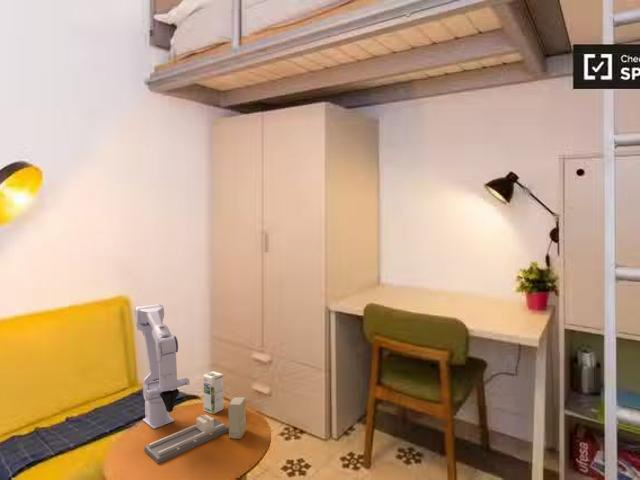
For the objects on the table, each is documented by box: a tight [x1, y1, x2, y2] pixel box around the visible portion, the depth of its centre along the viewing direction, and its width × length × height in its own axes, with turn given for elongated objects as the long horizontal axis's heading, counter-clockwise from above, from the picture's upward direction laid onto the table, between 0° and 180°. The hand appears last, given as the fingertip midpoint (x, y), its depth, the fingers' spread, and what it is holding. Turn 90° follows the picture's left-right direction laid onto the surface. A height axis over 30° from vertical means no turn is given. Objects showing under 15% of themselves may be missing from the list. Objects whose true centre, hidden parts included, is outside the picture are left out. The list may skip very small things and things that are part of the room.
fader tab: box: [195, 413, 214, 432], centre depth 146 cm, size 5×4×4 cm
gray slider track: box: [143, 416, 229, 464], centre depth 142 cm, size 10×26×2 cm, turn 136°
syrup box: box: [202, 370, 225, 415], centre depth 163 cm, size 6×6×14 cm
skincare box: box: [227, 396, 247, 439], centre depth 145 cm, size 6×4×12 cm
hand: (169, 410), depth 142 cm, fingers closed
